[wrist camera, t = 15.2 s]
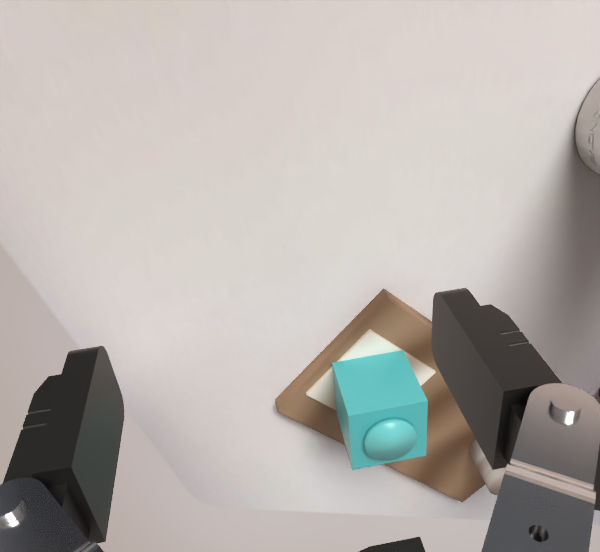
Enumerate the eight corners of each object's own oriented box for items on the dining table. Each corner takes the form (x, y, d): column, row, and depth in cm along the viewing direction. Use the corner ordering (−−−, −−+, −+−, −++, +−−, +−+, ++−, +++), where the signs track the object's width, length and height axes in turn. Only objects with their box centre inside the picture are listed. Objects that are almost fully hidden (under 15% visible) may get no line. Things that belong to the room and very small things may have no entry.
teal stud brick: (403, 349, 47) (430, 406, 42) (403, 402, 50) (428, 461, 45) (332, 362, 47) (350, 421, 41) (336, 414, 50) (354, 476, 44)
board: (558, 408, 57) (593, 455, 52) (456, 490, 61) (479, 541, 56) (383, 288, 46) (406, 334, 41) (275, 399, 50) (284, 452, 45)
